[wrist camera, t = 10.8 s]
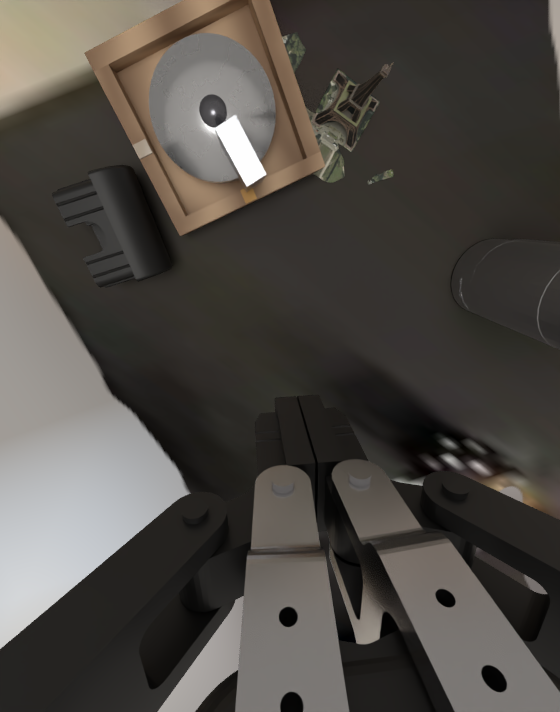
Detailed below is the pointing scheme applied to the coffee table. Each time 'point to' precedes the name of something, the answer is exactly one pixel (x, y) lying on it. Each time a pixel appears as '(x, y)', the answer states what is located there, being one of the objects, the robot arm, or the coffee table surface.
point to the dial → (213, 109)
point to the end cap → (115, 225)
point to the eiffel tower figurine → (339, 114)
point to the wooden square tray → (131, 104)
